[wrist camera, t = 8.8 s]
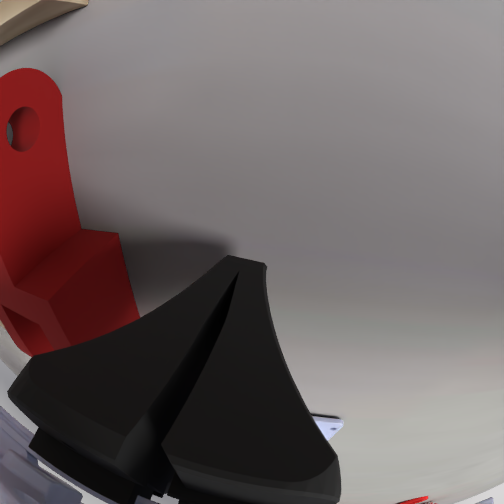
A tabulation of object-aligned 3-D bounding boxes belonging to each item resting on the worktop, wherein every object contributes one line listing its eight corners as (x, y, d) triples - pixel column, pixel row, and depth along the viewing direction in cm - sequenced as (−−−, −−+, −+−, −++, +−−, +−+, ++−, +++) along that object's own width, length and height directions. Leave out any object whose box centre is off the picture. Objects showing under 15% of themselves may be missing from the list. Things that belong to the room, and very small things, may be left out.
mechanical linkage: (152, 348, 16) (117, 413, 12) (70, 320, 17) (33, 369, 13) (104, 49, 8) (-2, 53, 3) (12, 89, 9) (-63, 112, 4)
